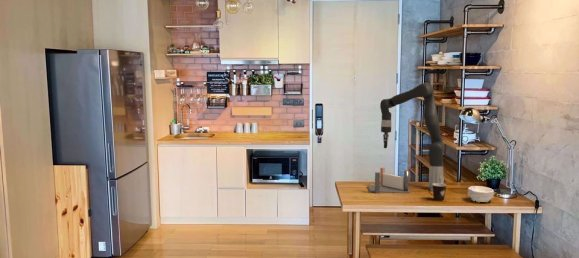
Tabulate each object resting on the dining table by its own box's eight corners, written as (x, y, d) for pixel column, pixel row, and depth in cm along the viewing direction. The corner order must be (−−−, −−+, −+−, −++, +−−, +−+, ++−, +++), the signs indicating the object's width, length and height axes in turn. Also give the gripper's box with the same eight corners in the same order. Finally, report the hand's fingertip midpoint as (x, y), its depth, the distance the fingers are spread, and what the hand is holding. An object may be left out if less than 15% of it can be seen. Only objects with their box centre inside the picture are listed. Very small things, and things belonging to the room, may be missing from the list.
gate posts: (407, 191, 316) (407, 170, 314) (408, 192, 313) (409, 171, 311) (374, 192, 314) (374, 170, 312) (375, 193, 311) (375, 171, 309)
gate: (404, 189, 317) (404, 171, 315) (402, 189, 315) (402, 171, 313) (382, 184, 330) (382, 167, 329) (380, 184, 329) (380, 167, 327)
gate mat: (405, 187, 328) (405, 185, 328) (410, 193, 312) (410, 191, 311) (367, 186, 330) (367, 185, 330) (370, 192, 313) (370, 191, 313)
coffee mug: (444, 198, 299) (444, 183, 297) (447, 201, 290) (447, 186, 289) (425, 197, 300) (426, 182, 299) (428, 201, 291) (429, 186, 290)
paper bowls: (496, 204, 284) (496, 192, 283) (470, 203, 286) (470, 191, 286) (489, 198, 299) (490, 186, 298) (465, 197, 301) (465, 185, 300)
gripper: (391, 127, 333) (390, 149, 335) (391, 124, 346) (391, 146, 348) (380, 126, 335) (379, 148, 337) (381, 124, 348) (381, 145, 350)
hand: (385, 147), depth 343 cm, fingers open, 8 cm apart
